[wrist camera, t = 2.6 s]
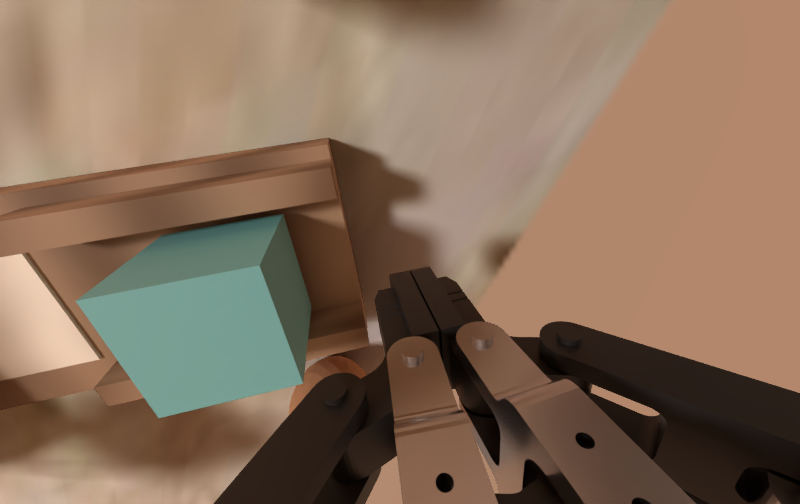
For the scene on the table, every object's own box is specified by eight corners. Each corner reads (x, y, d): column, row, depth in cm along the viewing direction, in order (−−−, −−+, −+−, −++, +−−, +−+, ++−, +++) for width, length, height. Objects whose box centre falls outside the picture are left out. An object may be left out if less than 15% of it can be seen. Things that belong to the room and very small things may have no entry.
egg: (280, 357, 21) (254, 482, 14) (349, 324, 21) (357, 433, 14) (319, 401, 24) (314, 527, 17) (381, 371, 24) (402, 485, 16)
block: (283, 213, 14) (259, 265, 9) (311, 306, 16) (303, 383, 12) (162, 235, 13) (75, 301, 9) (209, 327, 15) (158, 418, 11)
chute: (328, 137, 16) (326, 152, 11) (363, 298, 21) (372, 359, 16) (-128, 207, 14) (-382, 263, 9) (21, 371, 18) (-94, 469, 13)
